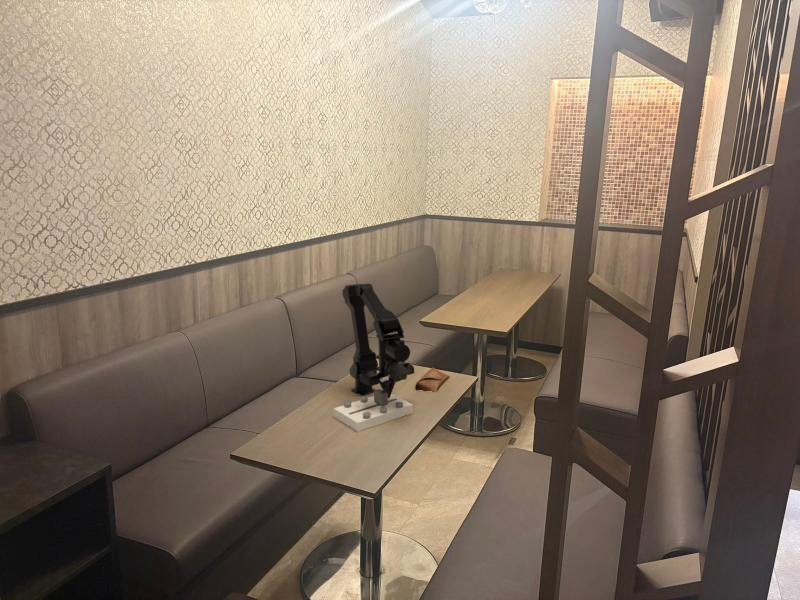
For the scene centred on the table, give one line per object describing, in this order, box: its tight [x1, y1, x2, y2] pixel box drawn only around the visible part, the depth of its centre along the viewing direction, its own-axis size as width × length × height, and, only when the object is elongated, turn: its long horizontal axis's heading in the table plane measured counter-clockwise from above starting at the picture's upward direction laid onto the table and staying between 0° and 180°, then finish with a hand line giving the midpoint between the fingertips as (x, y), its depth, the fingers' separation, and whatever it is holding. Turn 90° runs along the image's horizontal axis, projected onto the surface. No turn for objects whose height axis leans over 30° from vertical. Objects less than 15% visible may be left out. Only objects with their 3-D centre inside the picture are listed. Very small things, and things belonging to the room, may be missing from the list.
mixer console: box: [333, 393, 414, 433], centre depth 193 cm, size 14×22×4 cm, turn 128°
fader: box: [373, 388, 388, 406], centre depth 194 cm, size 4×2×4 cm, turn 38°
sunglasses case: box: [414, 366, 451, 393], centre depth 221 cm, size 18×7×7 cm
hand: (388, 397), depth 196 cm, fingers closed
